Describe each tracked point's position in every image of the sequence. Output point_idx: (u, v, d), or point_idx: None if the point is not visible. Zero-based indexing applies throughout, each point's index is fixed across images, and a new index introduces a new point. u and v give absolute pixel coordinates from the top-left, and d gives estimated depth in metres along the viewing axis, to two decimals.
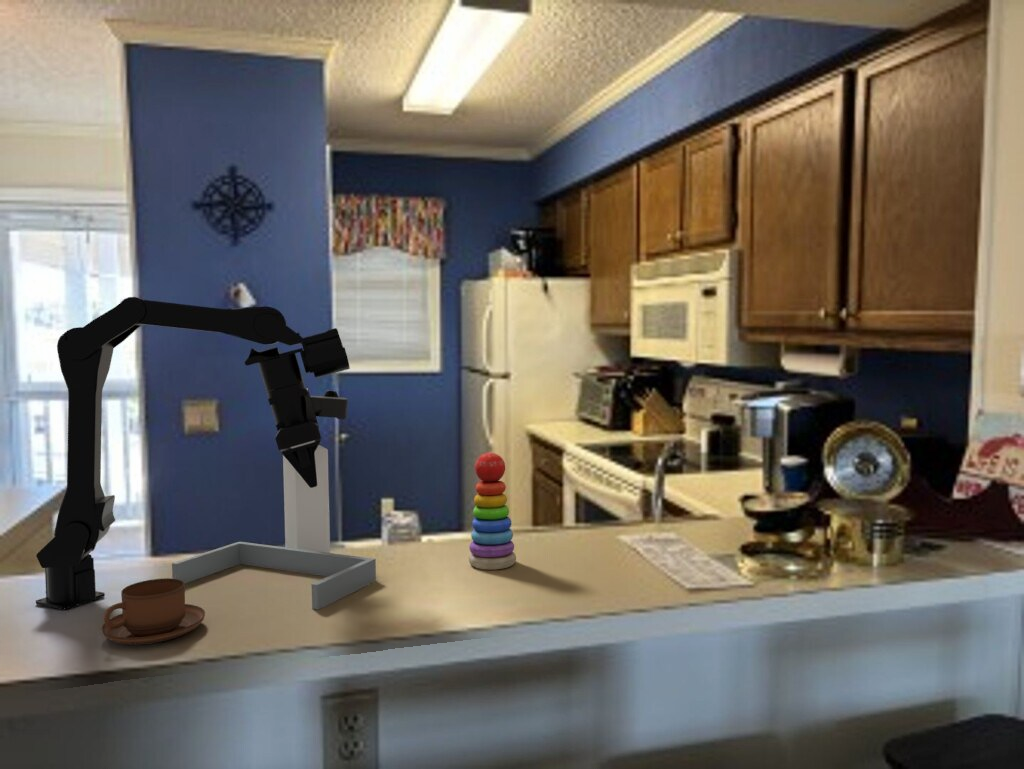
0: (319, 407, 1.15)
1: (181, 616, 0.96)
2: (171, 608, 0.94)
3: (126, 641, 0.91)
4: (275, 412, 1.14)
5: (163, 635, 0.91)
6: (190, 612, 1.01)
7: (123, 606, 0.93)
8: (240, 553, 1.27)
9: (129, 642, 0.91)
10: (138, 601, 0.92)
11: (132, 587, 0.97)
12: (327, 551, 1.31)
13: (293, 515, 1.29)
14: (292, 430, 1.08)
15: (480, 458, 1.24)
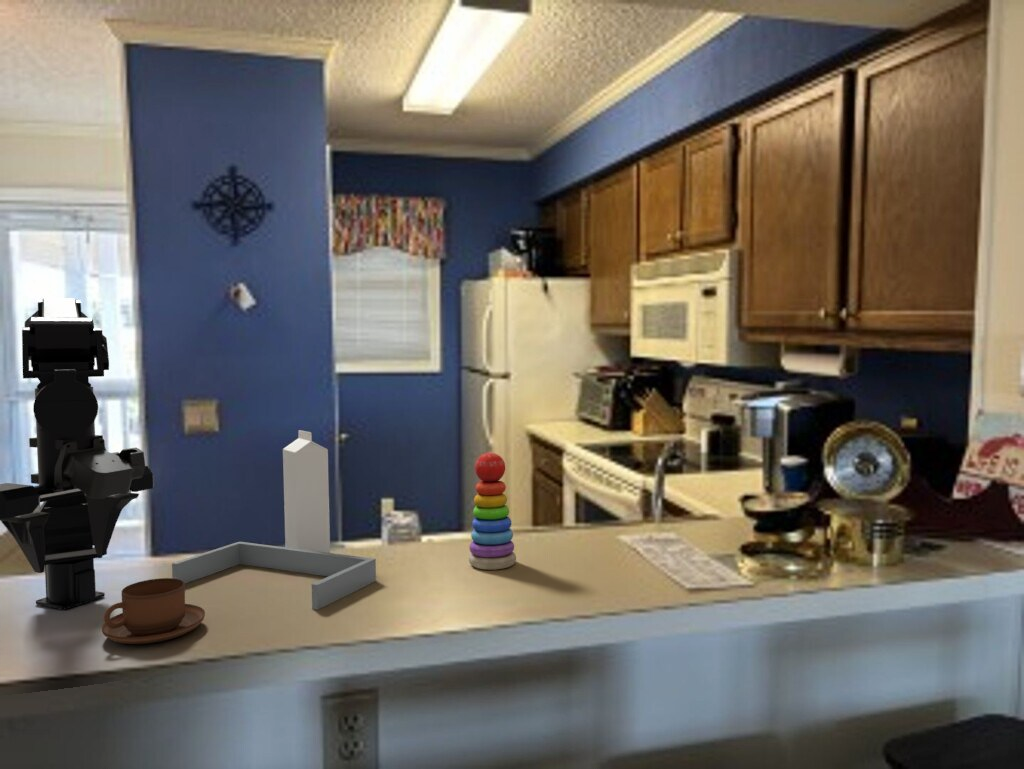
0: (68, 471, 0.81)
1: (181, 615, 0.96)
2: (170, 608, 0.94)
3: (126, 641, 0.91)
4: None
5: (163, 635, 0.91)
6: (190, 612, 1.01)
7: (123, 606, 0.93)
8: (240, 553, 1.27)
9: (129, 642, 0.91)
10: (138, 601, 0.93)
11: (132, 587, 0.97)
12: (327, 551, 1.31)
13: (293, 515, 1.29)
14: None
15: (480, 458, 1.24)
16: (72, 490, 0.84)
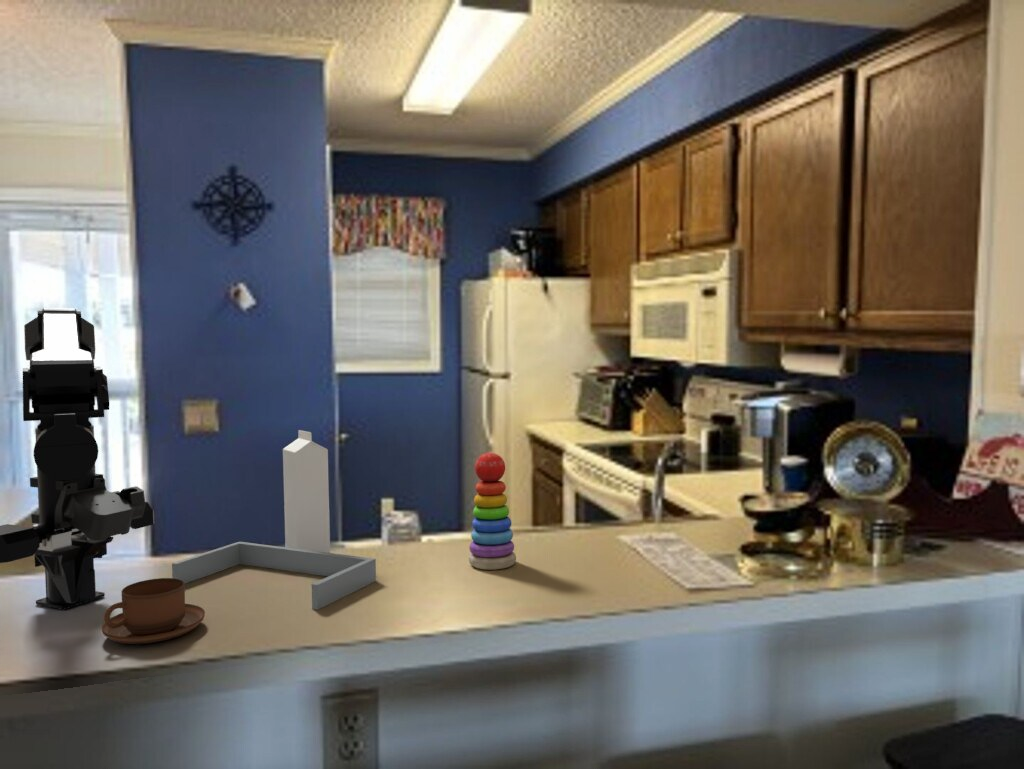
0: (69, 513, 0.81)
1: (181, 615, 0.96)
2: (171, 607, 0.94)
3: (126, 640, 0.91)
4: None
5: (163, 634, 0.92)
6: (190, 612, 1.01)
7: (123, 605, 0.93)
8: (240, 553, 1.27)
9: (129, 641, 0.91)
10: (138, 601, 0.93)
11: (132, 587, 0.97)
12: (327, 551, 1.31)
13: (293, 515, 1.29)
14: None
15: (480, 458, 1.24)
16: (72, 530, 0.84)
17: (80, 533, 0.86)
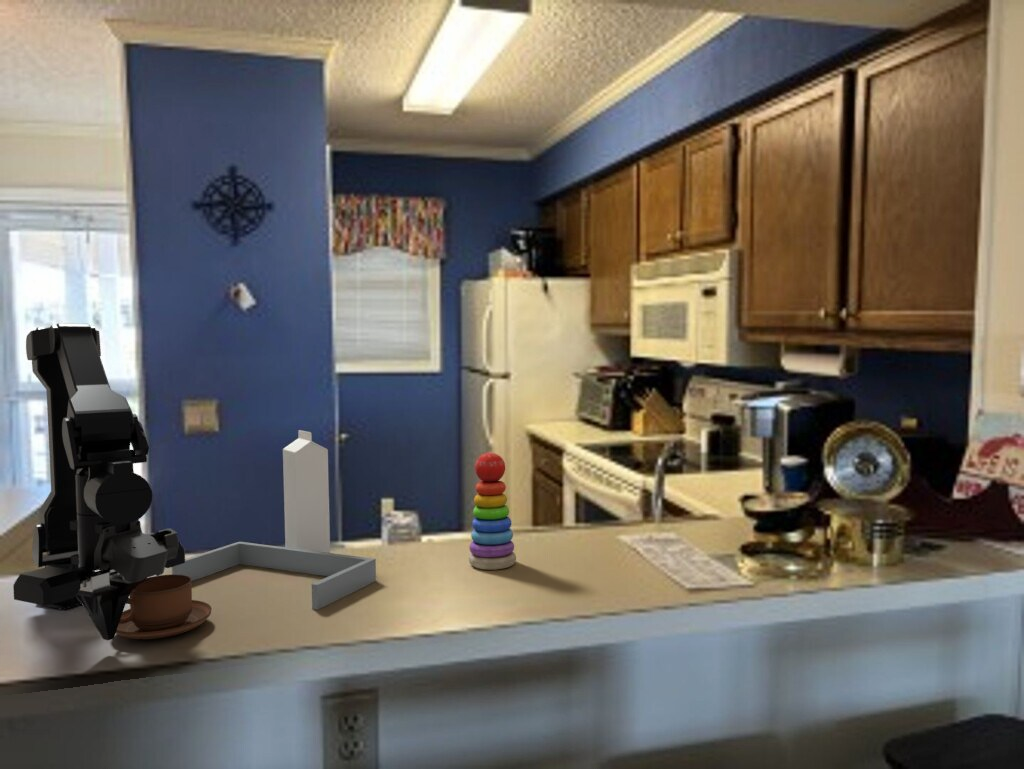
0: (107, 555, 0.86)
1: (188, 611, 0.97)
2: (177, 603, 0.95)
3: (133, 636, 0.92)
4: None
5: (170, 630, 0.92)
6: (197, 608, 1.02)
7: (131, 601, 0.94)
8: (240, 553, 1.27)
9: (136, 637, 0.92)
10: (145, 597, 0.94)
11: None
12: (327, 551, 1.31)
13: (293, 515, 1.29)
14: (25, 581, 0.82)
15: (480, 458, 1.24)
16: (110, 571, 0.88)
17: (116, 573, 0.90)
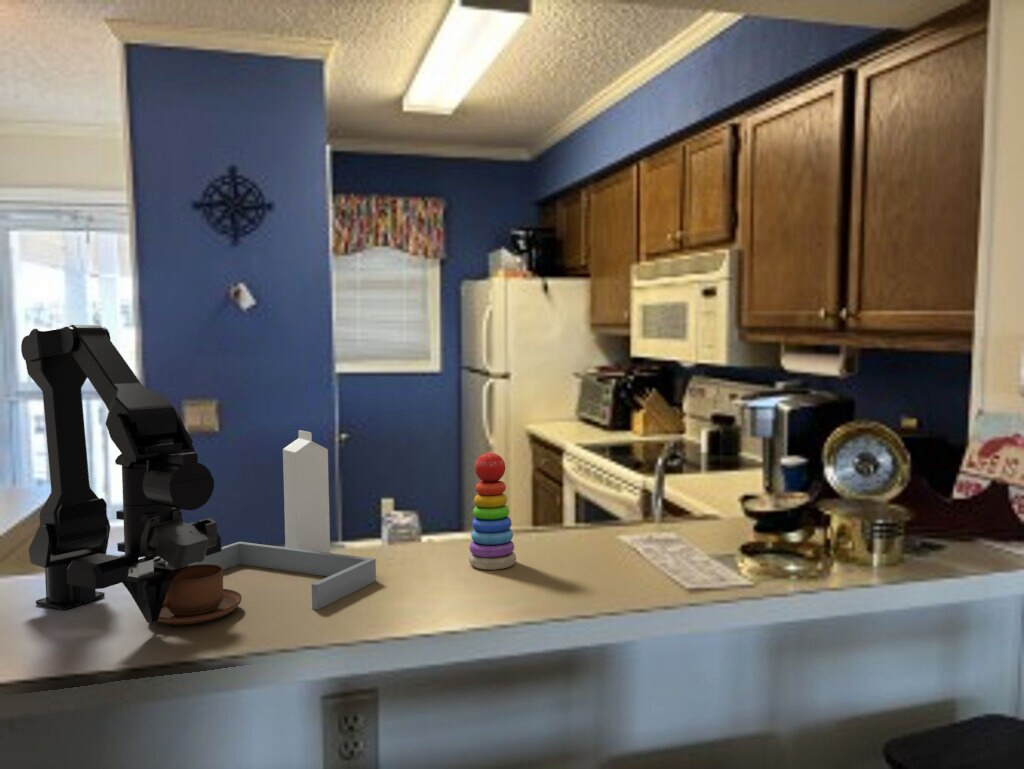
0: (153, 543, 0.91)
1: (219, 599, 1.02)
2: (209, 592, 1.00)
3: (167, 621, 0.97)
4: None
5: (200, 617, 0.97)
6: (229, 597, 1.07)
7: None
8: (240, 553, 1.27)
9: (170, 622, 0.97)
10: (179, 584, 0.99)
11: None
12: (327, 551, 1.31)
13: (293, 515, 1.29)
14: (78, 566, 0.87)
15: (480, 458, 1.24)
16: (154, 558, 0.94)
17: (159, 560, 0.96)
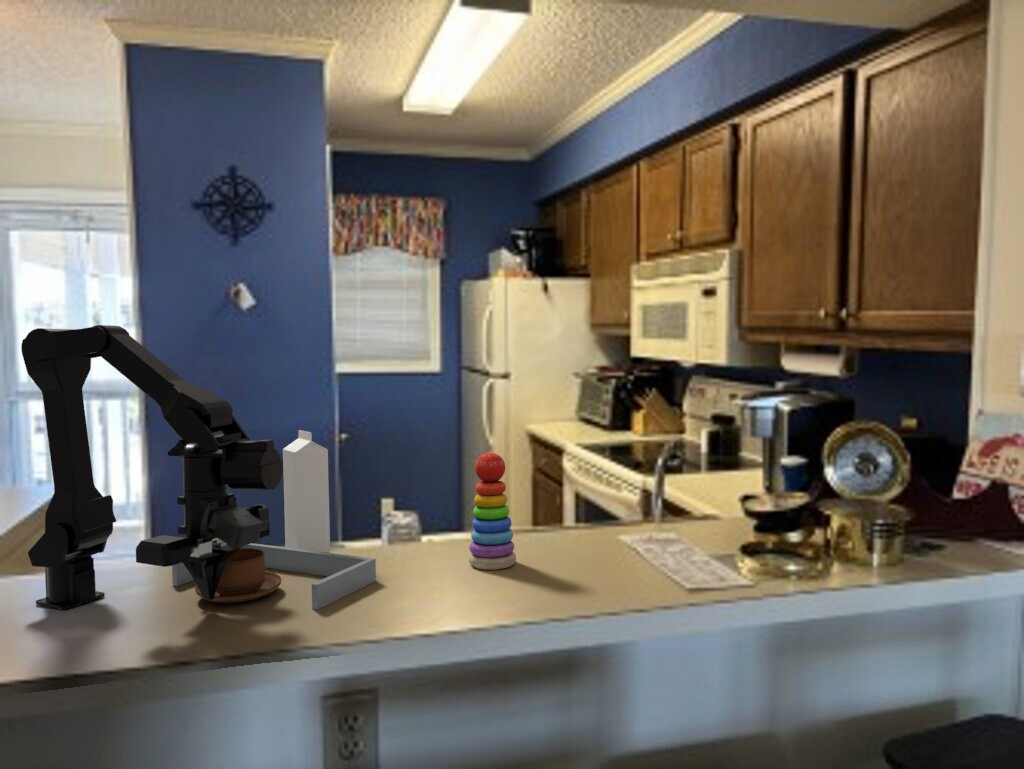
0: (212, 526, 1.00)
1: (261, 581, 1.10)
2: (251, 573, 1.08)
3: (214, 599, 1.05)
4: None
5: (244, 596, 1.05)
6: (270, 579, 1.15)
7: None
8: None
9: (216, 600, 1.05)
10: (224, 566, 1.07)
11: None
12: (327, 551, 1.31)
13: (293, 515, 1.29)
14: (147, 546, 0.96)
15: (480, 458, 1.24)
16: (212, 540, 1.02)
17: (215, 542, 1.04)
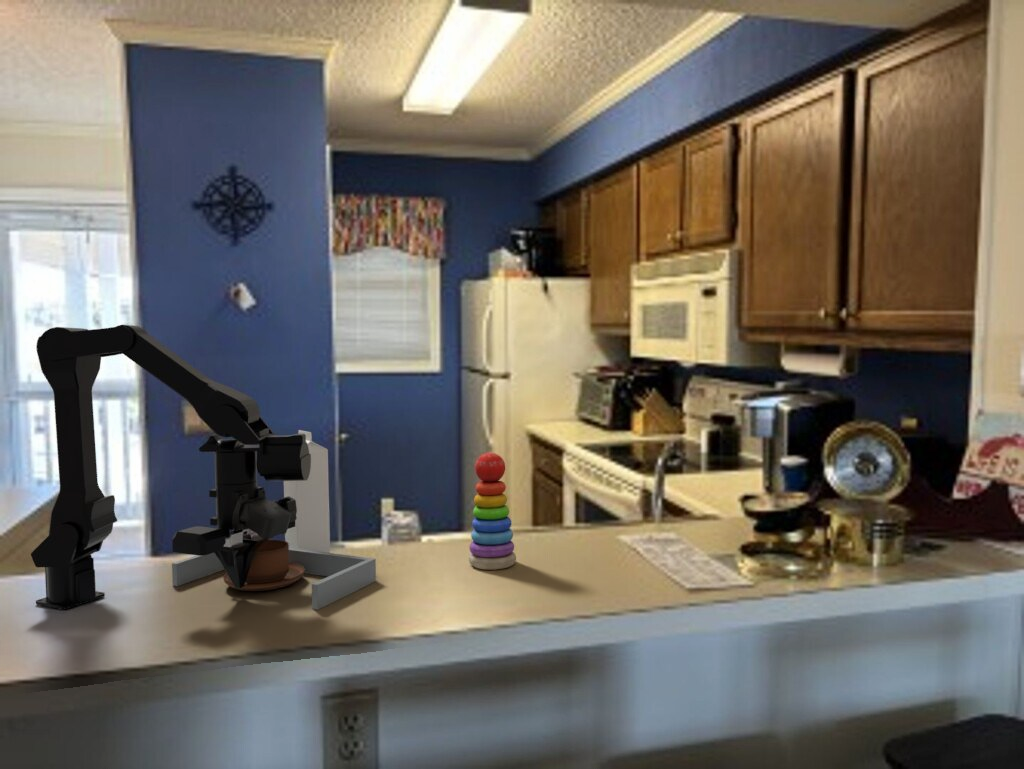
0: (244, 517, 1.05)
1: (286, 570, 1.15)
2: (278, 563, 1.14)
3: (243, 587, 1.11)
4: None
5: (272, 584, 1.11)
6: (292, 569, 1.20)
7: None
8: None
9: (245, 588, 1.11)
10: None
11: None
12: (327, 551, 1.31)
13: None
14: (183, 536, 1.01)
15: (480, 458, 1.24)
16: (243, 530, 1.08)
17: (245, 533, 1.10)
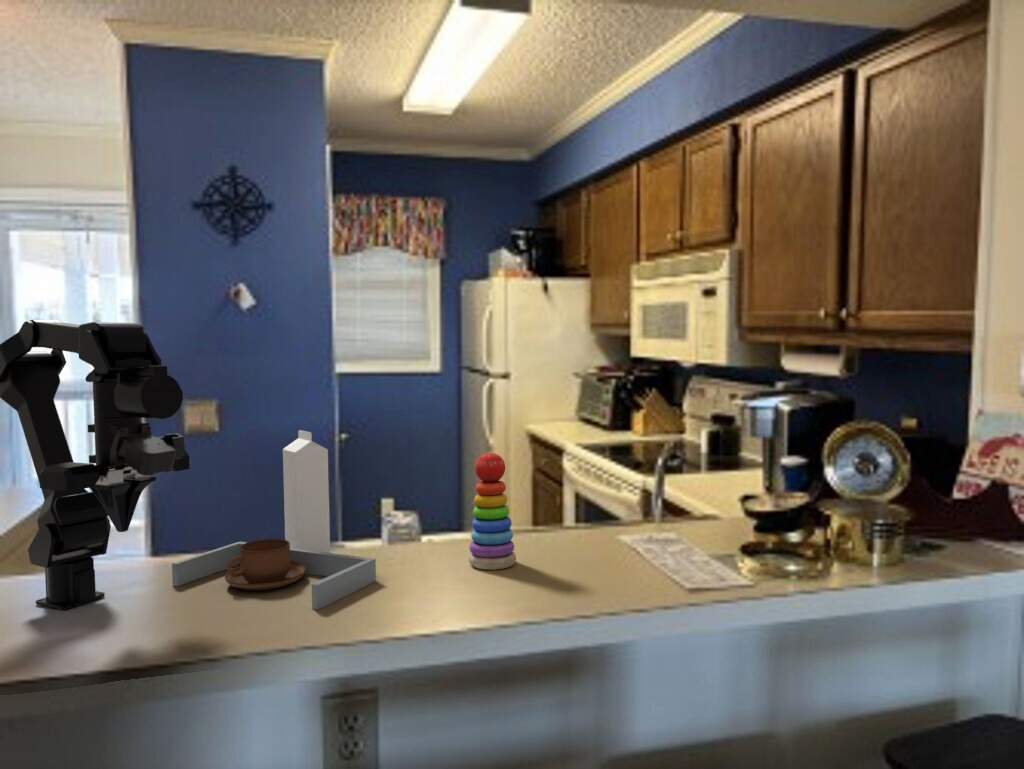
0: (122, 452, 0.96)
1: (287, 569, 1.16)
2: (279, 562, 1.14)
3: (244, 587, 1.11)
4: None
5: (273, 583, 1.11)
6: (293, 568, 1.21)
7: (242, 559, 1.13)
8: None
9: (247, 587, 1.11)
10: (253, 555, 1.13)
11: (247, 545, 1.18)
12: (327, 551, 1.31)
13: (293, 515, 1.29)
14: (50, 471, 0.92)
15: (480, 458, 1.24)
16: (124, 469, 0.99)
17: (129, 472, 1.01)
